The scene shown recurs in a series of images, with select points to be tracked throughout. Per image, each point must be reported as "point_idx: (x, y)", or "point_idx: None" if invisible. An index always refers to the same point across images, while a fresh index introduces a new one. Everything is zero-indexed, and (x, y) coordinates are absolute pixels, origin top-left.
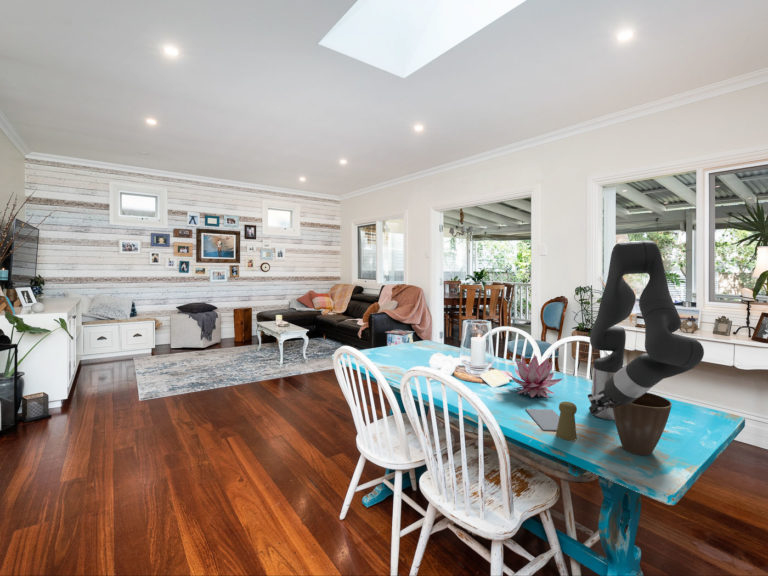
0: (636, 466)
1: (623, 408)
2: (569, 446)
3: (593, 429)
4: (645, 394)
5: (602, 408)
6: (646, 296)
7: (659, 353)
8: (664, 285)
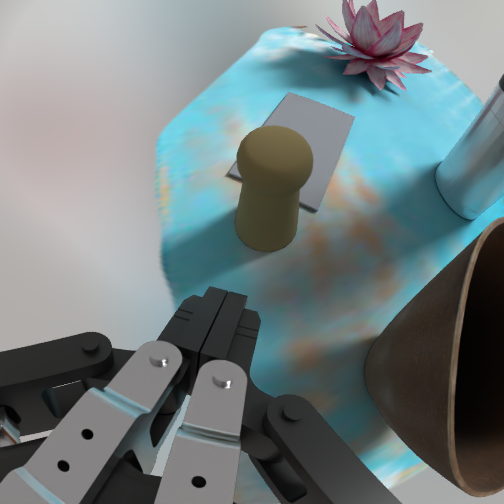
0: None
1: (420, 390)
2: (211, 275)
3: (384, 227)
4: None
5: (174, 418)
6: None
7: None
8: None
